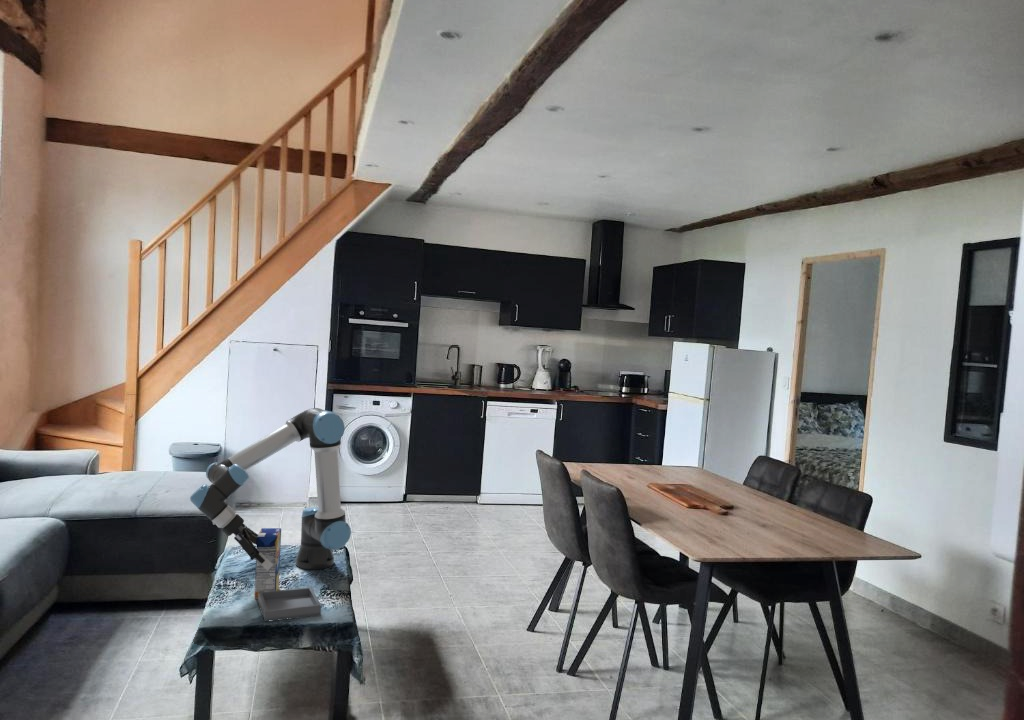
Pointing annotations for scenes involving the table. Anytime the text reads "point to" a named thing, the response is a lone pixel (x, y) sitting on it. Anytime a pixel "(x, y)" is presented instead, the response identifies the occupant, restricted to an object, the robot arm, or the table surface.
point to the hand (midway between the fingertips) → (271, 561)
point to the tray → (289, 603)
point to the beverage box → (271, 550)
